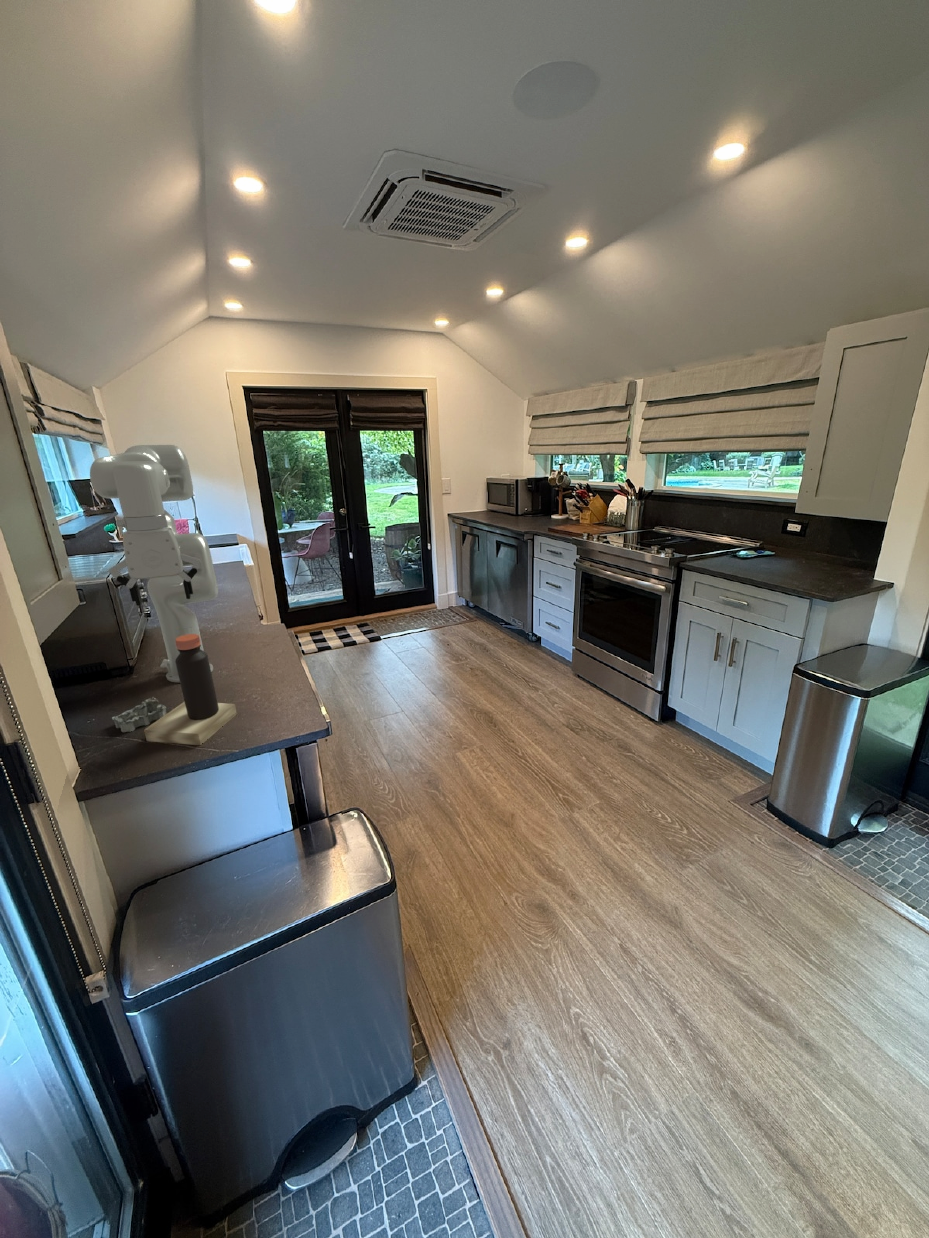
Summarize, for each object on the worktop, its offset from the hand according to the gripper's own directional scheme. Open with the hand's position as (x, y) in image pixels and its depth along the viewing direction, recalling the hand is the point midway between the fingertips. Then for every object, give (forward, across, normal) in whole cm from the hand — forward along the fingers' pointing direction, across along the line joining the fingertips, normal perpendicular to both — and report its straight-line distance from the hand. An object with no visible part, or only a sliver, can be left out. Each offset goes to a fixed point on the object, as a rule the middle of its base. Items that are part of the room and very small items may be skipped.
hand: (164, 600), depth 110 cm
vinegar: (+30, +3, -1) cm, 30 cm away
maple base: (+32, 0, -1) cm, 32 cm away
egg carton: (+33, -12, +9) cm, 36 cm away
